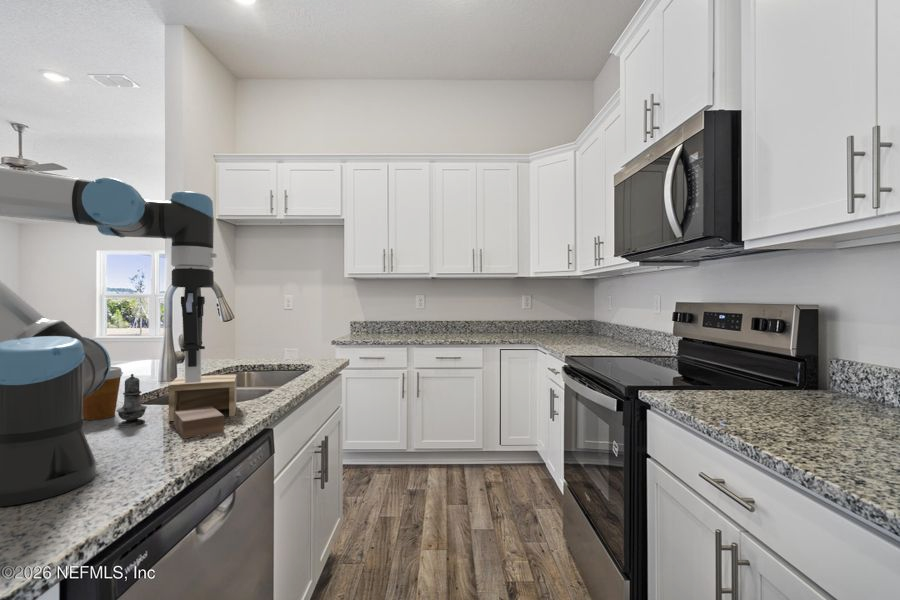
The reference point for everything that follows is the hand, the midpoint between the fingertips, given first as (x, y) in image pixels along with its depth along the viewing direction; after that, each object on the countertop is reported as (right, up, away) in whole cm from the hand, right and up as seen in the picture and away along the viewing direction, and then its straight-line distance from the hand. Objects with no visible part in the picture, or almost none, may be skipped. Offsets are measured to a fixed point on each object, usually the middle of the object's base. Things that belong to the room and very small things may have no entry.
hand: (193, 381), depth 91 cm
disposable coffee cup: (-35, -13, +19) cm, 42 cm away
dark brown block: (-5, -13, +10) cm, 18 cm away
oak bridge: (-10, -13, +23) cm, 28 cm away
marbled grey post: (-23, -13, +14) cm, 30 cm away
